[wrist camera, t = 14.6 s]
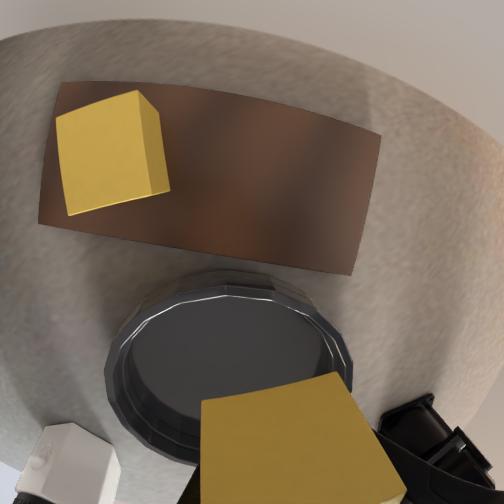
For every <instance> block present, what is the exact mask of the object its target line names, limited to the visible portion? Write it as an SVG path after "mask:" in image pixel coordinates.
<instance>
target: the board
mask: <svg viewBox="0 0 504 504" xmlns="http://www.w3.org/2000/svg"><path fill="white" fill-rule="evenodd" d="M135 90H138V91H139V92H140V93H141V94H142V95H143V96H144V97H145V98H146V99H147V100H148V102H149V103H150V104H151V105H152V106H153V107H154V108H155V109H156V110H157V111H158V112H159V118H160V126H161V133H162V141H163V147H164V154H165V161H166V167H167V173H168V179H169V185H170V191H169V192H165V193H160V194H156V195H152V196H148V197H143V198H139V199H134V200H130V201H126V202H122V203H117V204H113V205H109V206H105V207H101V208H97V209H94V210H90V211H86V212H82V213H79V214H75V215H71V216H68V212H67V207H66V202H65V196H64V190H63V183H62V177H61V169H60V161H59V152H58V142H57V129H56V117H59V116H61V115H63V114H66V113H68V112H71V111H74V110H76V109H79V108H82V107H84V106H87V105H90V104H93V103H96V102H99V101H101V100H105V99H108V98H111V97H114V96H117V95H121V94H124V93H127V92H131V91H135ZM380 142H381V135H379V134H376V133H373V132H371V131H368V130H365V129H363V128H360V127H357V126H354V125H351V124H348V123H345V122H342V121H339V120H336V119H333V118H330V117H327V116H323V115H320V114H317V113H313V112H310V111H306V110H302V109H299V108H295V107H291V106H287V105H283V104H279V103H275V102H271V101H266V100H262V99H257V98H253V97H248V96H243V95H237V94H232V93H226V92H220V91H214V90H207V89H201V88H193V87H185V86H176V85H166V84H154V83H140V82H114V81H86V82H62V84H61V88H60V91H59V95H58V98H57V102H56V106H55V110H54V114H53V118H52V122H51V127H50V132H49V137H48V142H47V147H46V153H45V160H44V166H43V174H42V182H41V191H40V202H39V216H38V224H41V225H47V226H52V227H58V228H64V229H69V230H75V231H81V232H86V233H92V234H98V235H103V236H109V237H115V238H121V239H127V240H132V241H138V242H144V243H150V244H156V245H162V246H168V247H174V248H180V249H185V250H191V251H197V252H203V253H210V254H216V255H222V256H228V257H234V258H240V259H246V260H252V261H258V262H265V263H271V264H277V265H283V266H289V267H296V268H302V269H308V270H315V271H321V272H327V273H334V274H340V275H347V276H351V275H352V271H353V268H354V264H355V260H356V256H357V253H358V249H359V245H360V241H361V237H362V233H363V228H364V224H365V220H366V215H367V211H368V206H369V202H370V197H371V192H372V187H373V182H374V177H375V171H376V166H377V160H378V154H379V148H380Z"/></svg>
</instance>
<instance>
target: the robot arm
mask: <svg viewBox="0 0 504 504" xmlns="http://www.w3.org/2000/svg"><path fill="white" fill-rule="evenodd" d="M434 398H435V396H434V395H433V394H432V393H431V394H428V395H426V396H424V397H422V398H420V399H418V400H416V401H413V402H411V403H409V404H407V405H404V406H402V407H400V408H397V409H395V410H392V411H390V412H387V413H385V414H383V415H382V416H381V418H380V422H379V427H378V432H376V431H375V430H373V429H372V428H371V429H372V431H373V432H374V434H375V436H376V438H377V439H378V441H379V443H380V444H381V446H382V448H383V449H384V451H385V453H386V454H387V456H388V458H389V459H390V461H391V463H392V465H393V466H394V468H395V470H396V471H397V473H398V475H399V476H400V478H401V480H402V482H403V483H404V485H405V487H406V488H407V491H406V493H405V495H404V497H403V499H402V500H401V502H400V504H504V491H498V490H495V482H494V480H493V479H492V478H491V476H490V475H489V474H488V473H487V472H488V471H489V470H490V469H491V468H492V467H493V466H492V465H491V464H490V463H489V461H488V460H487V459H486V458H485V456H484V455H483V454H482V453H481V451H480V450H479V449H478V448H477V446H475V444H474V443H473V442H472V441H471V440H470V438H469V437H468V436H467V435H466V434H465V433H464V432H463V431H462V430H461V429H460V428H459V426H457V427H456V428H455V429H454V431H452V430H451V428H450V427H449V426H448V425H447V424H446V423H445V421H444V420H443V419H442V418H441V417H440V416H439V414H438V413H437V412H436V411H435V410H434V409H433V407H432V404H433V401H434ZM465 444H466V446H465V447H464V448H463V449H462V450H461V449H460V448H461V447H462V446H463V445H465ZM177 504H201V491H200V461H199V463H198V465H197V467H196V469H195V471H194V473H193V475H192V477H191V478H190V480H189V482H188V484H187V486H186V488H185V490H184V492H183V493H182V495H181V497H180V499H179V501H178V503H177Z"/></svg>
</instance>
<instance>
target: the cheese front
mask: <svg viewBox="0 0 504 504" xmlns="http://www.w3.org/2000/svg"><path fill="white" fill-rule="evenodd" d="M200 491H201V504H400V502H401V500H402V499H403V497H404V495H405V493H406V491H407V488H406V487H405V485H404V483H403V482H402V480H401V478H400V476H399V475H398V473H397V471H396V470H395V468H394V466H393V465H392V463H391V461H390V459H389V458H388V456H387V454H386V453H385V451H384V449H383V448H382V446H381V444H380V443H379V441H378V439H377V438H376V436H375V434H374V432H373V431H372V429H371V427H370V426H369V424H368V422H367V421H366V419H365V417H364V416H363V414H362V412H361V411H360V409H359V407H358V406H357V404H356V402H355V401H354V399H353V397H352V396H351V394H350V392H349V391H348V389H347V387H346V386H345V384H344V382H343V381H342V379H341V377H340V376H339V374H338V373H337V372H332V373H328V374H325V375H321V376H318V377H314V378H310V379H307V380H303V381H299V382H295V383H291V384H287V385H282V386H278V387H274V388H269V389H264V390H260V391H255V392H250V393H244V394H239V395H233V396H228V397H221V398H215V399H208V400H203V401H202V402H201V445H200Z"/></svg>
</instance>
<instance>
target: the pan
mask: <svg viewBox="0 0 504 504" xmlns="http://www.w3.org/2000/svg"><path fill="white" fill-rule="evenodd" d="M332 372H337V373H338V374H339V376H340V377H341V379H342V381H343V382H344V384H345V386H346V387H347V389H348V391H349V392H350V394H351V392H352V380H353V360H352V358H351V355H350V353H349V350H348V348H347V345H346V343H345V340H344V338H343V335H342V333H341V332H340V331H339V329H338V328H337V327H336V325H335V324H334V323H333V322H332V320H331V319H330V318H329V316H328V315H327V314H326V313H325V312H324V311H323V310H322V309H321V308H320V307H319V306H318V305H317V304H316V303H315V302H314V301H313V300H312V299H311V298H310V297H309V296H308V295H307V294H306V293H305V292H303V291H302V290H300V289H297V288H295V287H293V286H291V285H289V284H287V283H284V282H282V281H280V280H278V279H276V278H273V277H271V276H269V275H265V274H257V273H249V272H241V271H232V270H218V271H213V272H207V273H201V274H196V275H190V276H184V277H181V278H179V279H177V280H175V281H173V282H171V283H169V284H168V285H166V286H164V287H162V288H160V289H158V290H156V291H154V292H153V293H151V294H149V295H148V296H146V297H145V298H144V299H143V300H142V302H141V303H140V304H139V305H138V306H137V307H136V308H135V310H134V311H133V312H132V313H131V314H130V315H129V316H128V318H127V319H126V320H125V321H124V323H123V325H122V326H121V328H120V330H119V331H118V333H117V335H116V336H115V338H114V340H113V342H112V345H111V348H110V351H109V355H108V358H107V361H106V365H105V368H104V376H105V383H106V390H107V396H108V401H109V403H110V405H111V407H112V408H113V410H114V412H115V414H116V415H117V417H118V419H119V421H120V422H121V424H122V425H123V427H125V428H126V429H127V430H128V431H129V432H130V433H131V434H132V435H133V436H134V437H135V438H136V439H137V440H139V441H140V442H141V443H142V444H143V445H144V446H145V447H147V448H149V449H151V450H153V451H154V452H156V453H158V454H160V455H162V456H164V457H166V458H168V459H170V460H172V461H175V462H179V463H182V464H186V465H190V466H193V467H197V465H198V463H199V461H200V445H201V402H202V401H203V400H208V399H215V398H221V397H228V396H233V395H239V394H244V393H250V392H255V391H260V390H264V389H269V388H274V387H278V386H282V385H287V384H291V383H295V382H299V381H303V380H307V379H310V378H314V377H318V376H321V375H325V374H328V373H332Z"/></svg>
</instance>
